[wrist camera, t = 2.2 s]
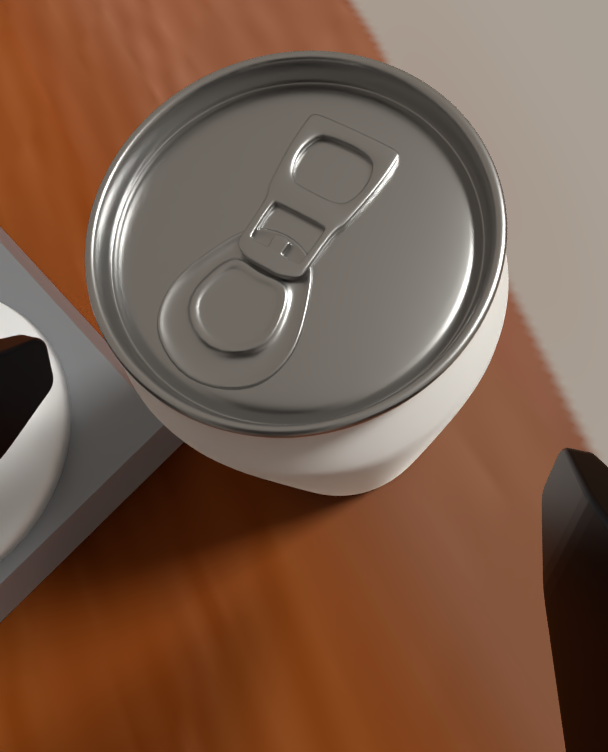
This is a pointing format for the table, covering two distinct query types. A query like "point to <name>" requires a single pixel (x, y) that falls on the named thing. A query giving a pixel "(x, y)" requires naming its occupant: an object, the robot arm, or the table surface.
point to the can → (302, 267)
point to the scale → (66, 434)
